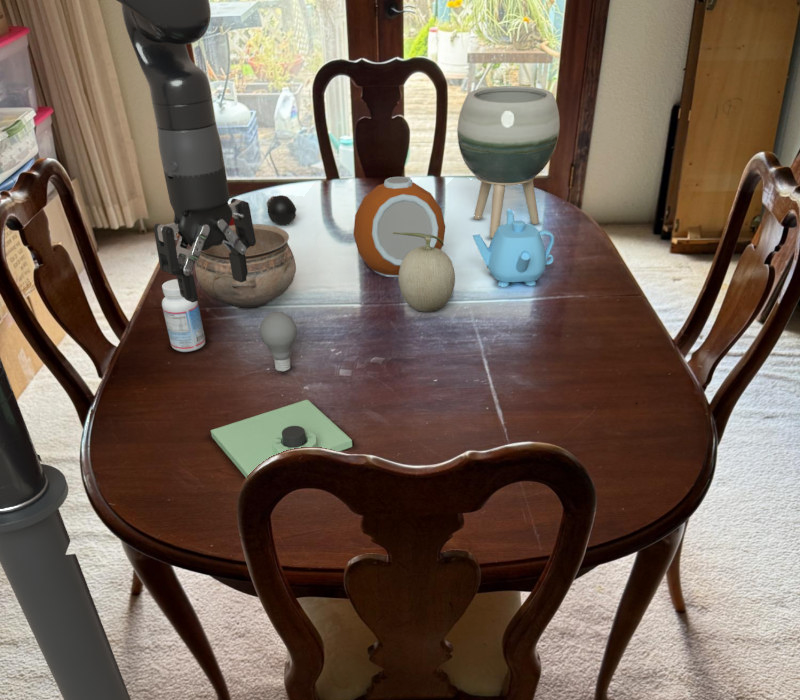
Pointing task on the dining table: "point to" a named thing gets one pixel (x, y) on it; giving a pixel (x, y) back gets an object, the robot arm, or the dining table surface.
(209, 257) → the cooking pot
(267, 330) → the light bulb
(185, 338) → the pill bottle
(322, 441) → the scale
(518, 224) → the teapot
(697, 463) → the dining table surface
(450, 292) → the fruit
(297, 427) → the button
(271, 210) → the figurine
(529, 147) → the planter
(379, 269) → the alarm clock
